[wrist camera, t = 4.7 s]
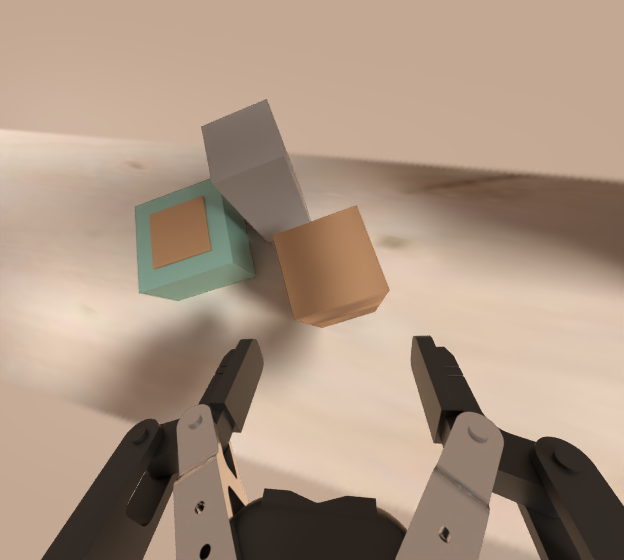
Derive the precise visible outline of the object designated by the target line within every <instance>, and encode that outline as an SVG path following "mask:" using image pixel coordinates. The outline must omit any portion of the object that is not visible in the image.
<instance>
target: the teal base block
mask: <svg viewBox="0 0 624 560" xmlns="http://www.w3.org/2000/svg"><path fill="white" fill-rule="evenodd" d="M135 219H136V239H137V259H138V279H139V293H142V294H146V295H151V296H156V297H161V298H166V299H171V300H175V301H179V300H182V299H186V298H189V297H192V296H195V295H198V294H202V293H205V292H208V291H211V290H214V289H217V288H221V287H224V286H227V285H230V284H233V283H236V282H240V281H243V280H246V279H249V278H252V277H256V276H255V271H254V266H253V261H252V256H251V251H250V246H249V241H248V235H247V230H246V225H245V220H244V217H243V216H242V215H241V214H240V213H239V212H238V211H237V210H236V209H235V208H234V207H233V206H232V204H231V203H230V202H229V201H228V200H227V199H226V198H225V197H224V196H223V195H222V194H221V193H220V192H219V191H218V190H217V189H216V187H215V186H214V185H213V184H212V181H211V179H208V180H206V181H203V182H200V183H198V184H195V185H192V186H190V187H187V188H184V189H181V190H179V191H176V192H173V193H171V194H168V195H165V196H163V197H160V198H157V199H154V200H152V201H149V202H146V203H144V204H141V205H138V206H136V207H135Z"/></svg>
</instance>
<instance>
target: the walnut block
mask: <svg viewBox="0 0 624 560" xmlns="http://www.w3.org/2000/svg"><path fill="white" fill-rule="evenodd" d="M273 239H274V243H275V247H276V251H277V254H278V258H279V262H280V266H281V270H282V274H283V278H284V281H285V285H286V289H287V293H288V297H289V301H290V305H291V308H292V312H293V316H294V320H297V321H301V322H304V323H307V324H311V325H314V326H317V327H321V328H323V327H326V326H330V325H333V324H336V323H340V322H343V321H346V320H349V319H353V318H356V317H359V316H362V315H366V314H369V313H372V312H375V311H376V309H377V308H378V306H379V305H380V303H381V302H382V300H383V299H384V297H385V296H386V295H387V293H388V292H389V287H388V285H387V282H386V279H385V277H384V274H383V272H382V269H381V267H380V264H379V262H378V259H377V256H376V254H375V251H374V249H373V246H372V244H371V241H370V238H369V236H368V233H367V231H366V228H365V226H364V223H363V221H362V218H361V215H360V213H359V210H358V208H357V206H354V207H351V208H348V209H345V210H342V211H340V212H337V213H334V214H331V215H328V216H326V217H323V218H320V219H317V220H314V221H312V222H309V223H306V224H303V225H300V226H297V227H295V228H292V229H289V230H286V231H283V232H281V233H278V234H275V235H273Z"/></svg>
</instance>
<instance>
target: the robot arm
mask: <svg viewBox="0 0 624 560" xmlns="http://www.w3.org/2000/svg"><path fill="white" fill-rule="evenodd" d="M263 365H264V362H263V357H262V354H261V351H260V348H259V346H258V343H257V340H256V339H242V340H240V341H239V343H238V345H237V347H236V349H232V350H231V351H230V352H229V353H228V354H227V355H226V356H225V357H224V358H223V360H222V362H221V363H220V365H219V368H218V369H217V371H216V373H215V375H214V376H213V378H212V380H211V382H210V384H209V386H208V388H207V389H206V391H205V393H204V395H203V397H202V399H201V401H200V402H199V404H198V405H196V406H194V407H192V408H190V409H189V410H187V411H186V412H185V413H184V414H183V415H182V417H181V418H180V419H177V420H174V421H171V422H167V423H164V424H161V425H160V424H159V423H158V422H157V421H156V420H154V419H147V420H144V421H142V422H140V423H138V424H137V425H135V426H134V427H133V428H132V429H131V430H130V431H129V432H128V433H127V434H126V435H125V437H124V438H123V440H122V441H121V443H120V444H119V446H118V447H117V449H116V450H115V452H114V453H113V454H112V456H111V457H110V459H109V460H108V462H107V463H106V465H105V466H104V468H103V469H102V471H101V472H100V474H99V475H98V477H97V478H96V479H95V481H94V482H93V484H92V485H91V487H90V489H89V490H88V491H87V493H86V494H85V496H84V497H83V499H82V500H81V502H80V503H79V505H78V506H77V507H76V509H75V511H74V512H73V513H72V515H71V516H70V518H69V519H68V521H67V522H66V524H65V525H64V527H63V528H62V530H61V531H60V533H59V534H58V535H57V537H56V538H55V540H54V542H53V543H52V544H51V546H50V547H49V549H48V550H47V552H46V553H45V555H44V556H43V558H42V559H41V560H143V558H144V555H145V553H146V551H147V548H148V546H149V544H150V542H151V539H152V537H153V535H154V532H155V530H156V528H157V526H158V523H159V521H160V518H161V516H162V514H163V512H164V510H165V507H166V505H167V503H168V500H169V498H170V496H171V493H172V491H173V494H174V517H175V540H176V560H478V558H479V554H480V550H481V546H482V542H483V538H484V534H485V530H486V526H487V522H488V517H489V511H490V507H489V502H490V497H491V493H492V492H493V493H495V494H498V495H500V496H502V497H505V498H507V499H510V500H512V501H514V502H517V504H518V507H519V509H520V511H521V514H522V516H523V518H524V521H525V523H526V526H527V528H528V530H529V533H530V535H531V537H532V540H533V542H534V544H535V547H536V549H537V552H538V554H539V556H540V559H541V560H624V506H623V504H622V503H621V502H620V500H619V499H618V497H617V496H616V495H615V493H614V492H613V490H612V489H611V487H610V486H609V485H608V483H607V482H606V480H605V479H604V478H603V476H602V475H601V473H600V472H599V470H598V469H597V468H596V466H595V465H594V464H593V462H592V461H591V460H590V459H589V458H588V457H587V456H586V455H585V454H584V453H583V452H582V451H581V450H579V449H578V448H577V447H575V446H573V445H572V444H570V443H568V442H566V441H564V440H561V439H559V438H555V437H542V438H540V439H539V440H538V441H537V442H534V441H531V440H528V439H525V438H522V437H519V436H516V435H513V434H510V433H507V432H505V431H503V430H501V429H500V428H498V427H497V426H496V425H495V424H494V423H493V422H492V421H490V420H489V419H488V418H486V417H485V415H484V414H483V413H482V411H481V409H480V407H479V405H478V403H477V401H476V399H475V397H474V395H473V393H472V391H471V389H470V387H469V385H468V383H467V381H466V379H465V377H463V373H462V371H461V369H460V368H459V366H458V364H457V362H456V360H455V358H454V356H453V355H452V354H451V353H450V352H449V351H448V350H447V349H446V348H445V347H436V346H435V344H434V341H433V339H432V337H431V336H413V340H412V349H411V367H412V371H413V375H414V378H415V381H416V385H417V388H418V392H419V395H420V398H421V402H422V405H423V409H424V412H425V415H426V419H427V422H428V425H429V429H430V432H431V436H432V439H433V442H434V443H439V444H442V445H443V448H444V449H443V451H442V454H441V456H440V458H439V461H438V463H437V465H436V467H435V468H434V470H433V472H432V474H431V476H430V479H429V481H428V483H427V486H426V488H425V491H424V493H423V495H422V498H421V500H420V502H419V505H418V507H417V509H416V512H415V514H414V516H413V519H412V521H411V523H410V526H409V528H408V530H407V529H406V528H405V527H404V526H403V525H402V524H401V523H400V522H399V521H398V520H397V519H396V518H394V517H393V516H392V515H391V514H389V513H388V512H386V511H384V510H383V509H380V508H378V507H376V498H365V497H354V496H344V497H340V498H336V499H332V500H328V501H325V502H321V503H316V502H313V501H311V500H309V499H307V498H304V497H302V496H300V495H298V494H296V493H294V492H292V491H288V490H277V489H266V488H265V489H264V493H263V497H262V498H259V499H257V500H254V501H252V502H251V503H249V502H248V498H247V496H246V493H245V491H244V488H243V486H242V483H241V480H240V476H239V473H238V469H237V465H236V461H235V457H234V453H233V449H232V445H231V442H230V438H231V435H232V432H238V433H241V431H242V428H243V425H244V422H245V420H246V417H247V414H248V411H249V408H250V405H251V402H252V399H253V396H254V393H255V391H256V388H257V385H258V382H259V379H260V376H261V373H262V370H263ZM144 472H145V474H144ZM143 474H144V475H143ZM142 476H143V477H142ZM178 477H179V478H178ZM141 478H142V479H141ZM140 479H141V481H140ZM139 481H140V483H139ZM138 483H139V485H138ZM137 485H138V486H137ZM136 487H137V488H136ZM135 489H136V490H135ZM134 491H135V492H134ZM133 492H134V494H133ZM132 494H133V496H132ZM131 496H132V497H131ZM130 498H131V499H130ZM129 500H130V501H129ZM128 502H129V503H128ZM127 504H128V505H127Z"/></svg>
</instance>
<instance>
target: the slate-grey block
mask: <svg viewBox="0 0 624 560" xmlns="http://www.w3.org/2000/svg"><path fill="white" fill-rule="evenodd" d="M201 128H202V133H203V138H204V144H205V149H206V154H207V160H208V165H209V170H210V176H211V181H212V184H213V185H214V186H215V187H216V189H217V190H218V191H219V192H220V193H221V194H222V195H223V196H224V197H225V198H226V199H227V200H228V201H229V202H230V203H231V204H232V206H233V207H234V208H235V209H236V210H237V211H238V212H239V213H240V214H241V215H242V216H243V217H244V218H245V219H246V220H247V221H248V223H249V224H250V225H251V226H252V227H253V228H254V229H255V230H256V231H257V232H258V233H259V234H260V235H261V236H262V237H263V239H264V240H265V241H266V242H267V243H270V242H273V241H274V239H273V235H275V234H278V233H281V232H283V231H286V230H289V229H292V228H295V227H297V226H300V225H303V224H306V223H309V222H311V220H310V217H309V214H308V211H307V207H306V204H305V201H304V198H303V195H302V192H301V189H300V186H299V183H298V180H297V178H296V175H295V173H294V170H293V167H292V165H291V162H290V159H289V157H288V154H287V151H286V149H285V146H284V143H283V141H282V138H281V136H280V133H279V130H278V128H277V125H276V122H275V120H274V117H273V114H272V112H271V109H270V107H269V104H268V101H267V99H266V100H263V101H261V102H258V103H256V104H254V105H251V106H249V107H247V108H244V109H242V110H239V111H237V112H235V113H232V114H230V115H228V116H225V117H223V118H220V119H218V120H216V121H214V122H211V123H209V124H206V125H204V126H202V127H201Z"/></svg>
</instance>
